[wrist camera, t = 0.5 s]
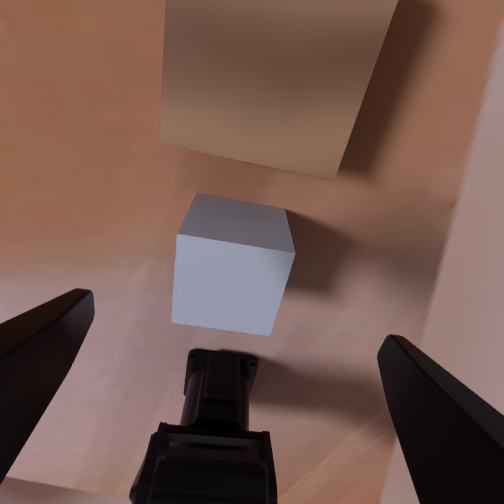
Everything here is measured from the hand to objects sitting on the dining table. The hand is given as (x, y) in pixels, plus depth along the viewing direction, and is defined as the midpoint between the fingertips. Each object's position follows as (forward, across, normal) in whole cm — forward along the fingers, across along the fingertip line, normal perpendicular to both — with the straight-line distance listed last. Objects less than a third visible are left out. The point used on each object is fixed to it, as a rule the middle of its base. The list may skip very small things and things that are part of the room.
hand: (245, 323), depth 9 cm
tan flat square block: (+12, 0, -8) cm, 14 cm away
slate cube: (+12, 0, +3) cm, 13 cm away
